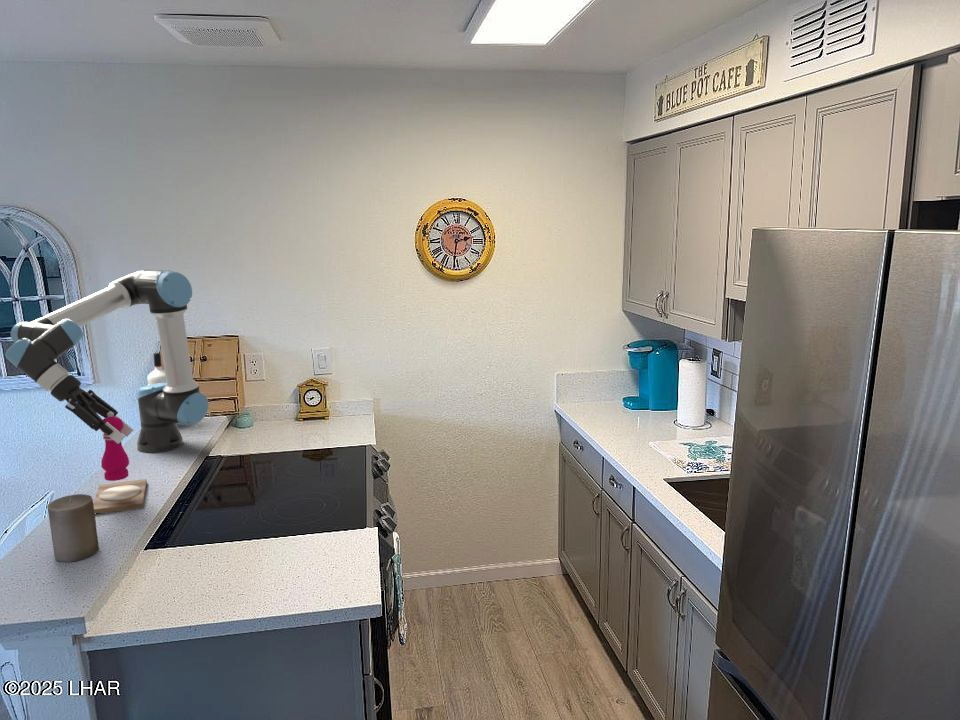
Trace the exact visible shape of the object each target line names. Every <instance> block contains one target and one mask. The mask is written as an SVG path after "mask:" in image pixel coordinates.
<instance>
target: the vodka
mask: <svg viewBox="0 0 960 720" xmlns="http://www.w3.org/2000/svg"><path fill="white" fill-rule="evenodd" d="M153 363H154V370H152V371H151V372H150V373H149V374H148V375H147V379H146V380H147V383H148V384H147V385H152V384H158V383H167V382H166V376H165V370H164V369H163V367H162V352H155V353H153Z"/></svg>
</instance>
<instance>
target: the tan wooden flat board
mask: <svg viewBox="0 0 960 720" xmlns="http://www.w3.org/2000/svg"><path fill="white" fill-rule="evenodd" d="M147 485H148V480H147V478H143V479H135V480H127V481H117V482H109V483H103V484H99V486H98V489H97V491H96V493H95V497H94V499H93V505H94V513H101V514H106V513H105V512H109V513H114V512H113V511H116V512H120V511H121V510H123V511H128V510H127V509H131V510H135V509H136V508H138V509H144V503H145V497H146V492H147V491H146V490H147ZM136 510H137V509H136ZM121 512H122V511H121Z"/></svg>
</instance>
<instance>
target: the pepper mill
mask: <svg viewBox="0 0 960 720" xmlns="http://www.w3.org/2000/svg"><path fill="white" fill-rule="evenodd" d="M107 416H108V417H107V418H104V417H103V419H102V420H103V421H104V422H105V423H106V422H108V423H109V424H111V425H112V426H113V427H114V428H116V429H117V430H118V431H119V432H121V430H122V428H123V422H122V420H123V419H122V418H120V417H119V416H118V417H119V418H118V417H115V416H114V413H113V412H108V413H107ZM105 423H104V424H105ZM101 432H102V433H103V434H102V440H104V442H105V443H104V444H105V448H104V452H103V455H102V458H101V461H100V463H101V465H100V466H101V468H102V469H103V471H105V472H104V474H103V475H104V480H105V481H109V482H110V481H111V482H115V481H117V482H118V481H122V480H124V479H126V478H128V477H129V469H128V466H129V464H130V459H129V456H128V454H127V453H126V451H125V449H124V448H123V445H122V444H123V443H122V441H121V442H120V443H119V444H118V443H116V442H115V441H114V440H113V439H111V438H110V437H109V436H108V435H106V434H105V433H104V432H103V431H101ZM121 433H122V432H121ZM122 434H123V433H122Z"/></svg>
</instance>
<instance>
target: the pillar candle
mask: <svg viewBox="0 0 960 720" xmlns="http://www.w3.org/2000/svg"><path fill="white" fill-rule="evenodd" d="M93 502H94V498H93V496H91V495H89V494H86V493H85V494H82V493H80V494H78V493H77V494H71V495H65V496H62V497H60V498H59V497H58V498H57V499H54V500H52V501H51V502H49V503H48V504H47V505H46V507H47V512H48V513H47V514H48V520H49V527H50V534H51V541H52V542H51V543H52V548H53V554H54V559H55V560H56V561H59V562H62V563H73V562H78V561H82V560H84V559H87V558H89V557H91V556H93V555H94V554H95V555H96V553H97V552H99V550H100V547H99V540H98V531H97V530H98V529H97V522H96V514H95V513H94V505H93Z"/></svg>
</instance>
